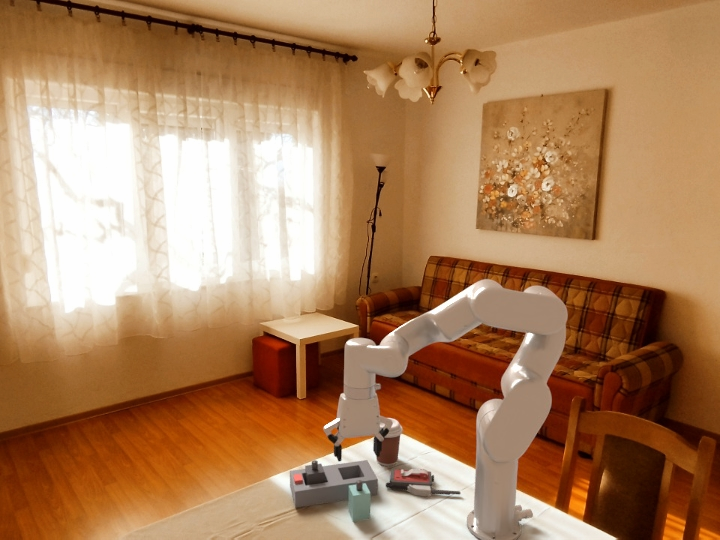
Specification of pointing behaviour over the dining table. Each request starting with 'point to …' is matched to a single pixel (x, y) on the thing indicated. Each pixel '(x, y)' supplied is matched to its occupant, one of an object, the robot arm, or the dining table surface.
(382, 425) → the coffee cup
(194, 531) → the dining table surface
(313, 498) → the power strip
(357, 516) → the plug
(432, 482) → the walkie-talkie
